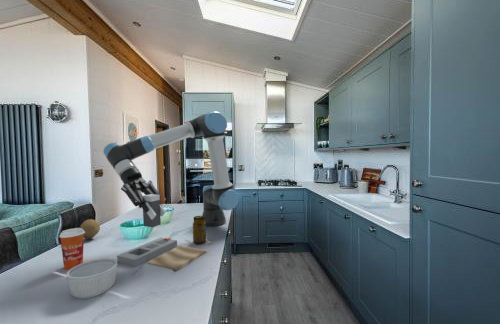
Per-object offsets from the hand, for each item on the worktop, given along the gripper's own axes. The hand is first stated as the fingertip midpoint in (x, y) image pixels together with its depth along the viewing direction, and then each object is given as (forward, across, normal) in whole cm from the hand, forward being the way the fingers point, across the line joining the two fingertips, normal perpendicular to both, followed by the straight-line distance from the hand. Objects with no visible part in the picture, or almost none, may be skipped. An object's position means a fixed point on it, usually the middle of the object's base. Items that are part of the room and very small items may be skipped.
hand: (158, 215), depth 94 cm
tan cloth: (+16, -5, -9) cm, 19 cm away
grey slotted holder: (+6, -3, -19) cm, 20 cm away
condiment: (+14, -23, -12) cm, 29 cm away
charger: (0, 0, -6) cm, 6 cm away
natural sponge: (-25, -4, -50) cm, 56 cm away
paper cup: (-6, +18, -31) cm, 36 cm away
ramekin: (+10, +23, -15) cm, 30 cm away
